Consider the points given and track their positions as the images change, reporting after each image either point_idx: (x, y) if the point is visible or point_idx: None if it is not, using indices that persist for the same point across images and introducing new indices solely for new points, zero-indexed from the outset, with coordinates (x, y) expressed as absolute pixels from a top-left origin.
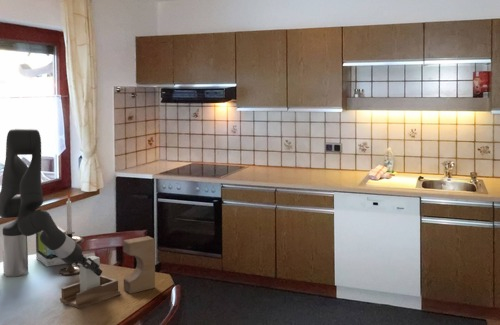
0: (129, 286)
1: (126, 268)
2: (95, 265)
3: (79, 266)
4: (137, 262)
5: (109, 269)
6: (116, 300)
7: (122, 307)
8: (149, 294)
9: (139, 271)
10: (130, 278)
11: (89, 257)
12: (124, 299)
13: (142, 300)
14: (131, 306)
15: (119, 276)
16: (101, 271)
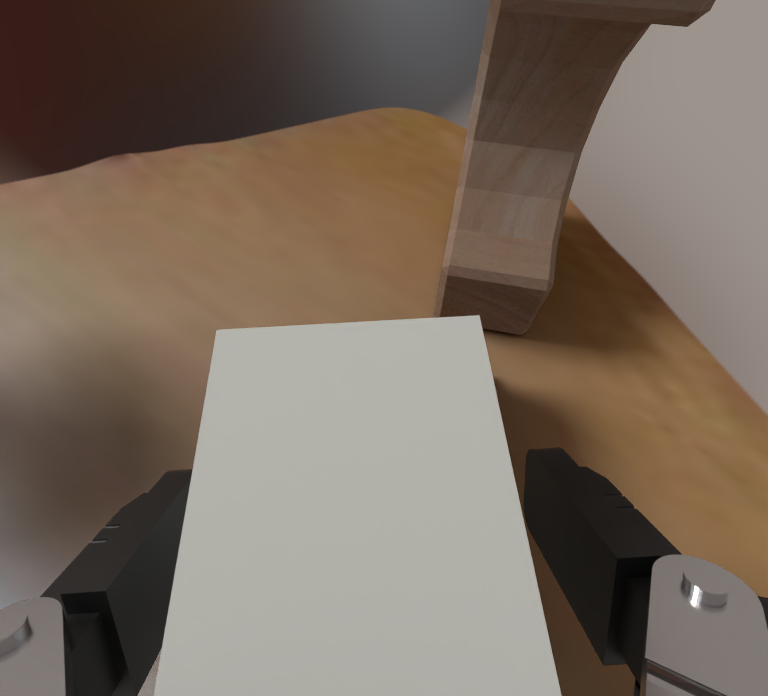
0: (537, 307)
1: (179, 153)
2: (761, 636)
3: (139, 676)
4: (494, 94)
5: (101, 203)
6: (572, 459)
7: (731, 512)
8: (598, 272)
9: (545, 166)
10: (503, 249)
11: (273, 480)
12: (588, 410)
13: (669, 347)
14: (741, 454)
15: (234, 225)
16: (603, 481)
